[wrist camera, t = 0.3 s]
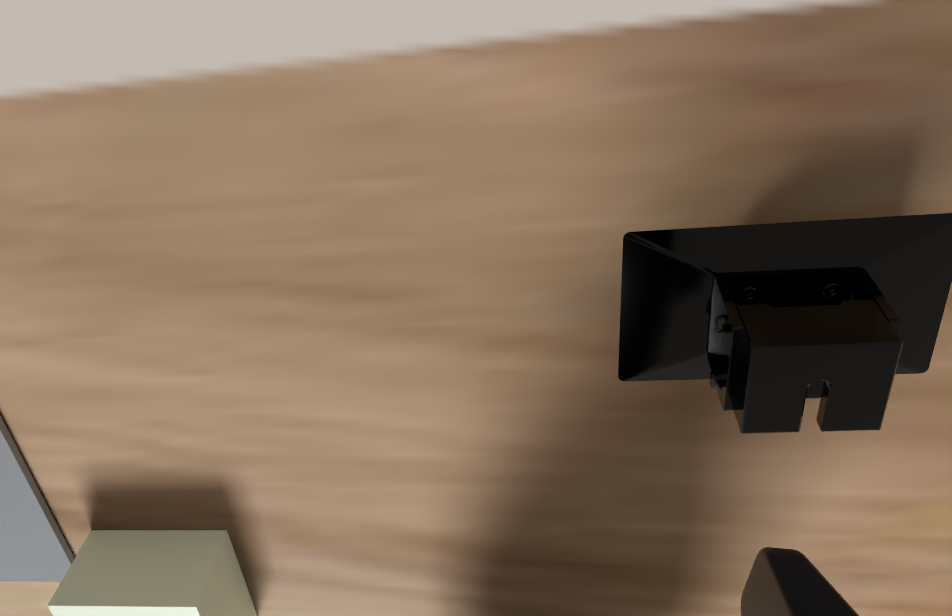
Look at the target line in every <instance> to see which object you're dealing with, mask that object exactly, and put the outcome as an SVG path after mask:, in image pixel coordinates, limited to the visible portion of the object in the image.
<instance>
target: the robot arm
mask: <svg viewBox="0 0 952 616" xmlns="http://www.w3.org/2000/svg"><path fill="white" fill-rule="evenodd" d="M741 616H859V615H858V614H857V613H856V612H855V611H854V610H853V608H852V607H851V606H850V605H849V604H848V603H847V602H846V601H845V600H844V598H843V597H842V596H841V595H840V594H839V593H838V592H837V591H836V590H835V589H834V587H833V586H832V585H831V584H830V583H829V582H828V581H827V580H826V579H825V577H824V576H823V575H822V574H821V573H820V572H819V571H818V570H817V569H816V567H815V566H814V565H813V564H812V563H811V562H810V561H809V560H808V559H807V558H806V557H805V556H804V555H803V554H802V553H800V552H799V551H797V550H793V549H782V548H770V547H766V548H763V549H761V550H760V551H759V553H758V554H757V556H756V559H755V562H754V564H753V567H752V569H751V572H750V574H749V577H748V580H747V582H746V585H745V587H744V590H743V593H742V598H741Z"/></svg>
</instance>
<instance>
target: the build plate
mask: <svg viewBox="0 0 952 616" xmlns="http://www.w3.org/2000/svg"><path fill="white" fill-rule="evenodd" d="M951 282H952V213H944V214H927V215H910V216H894V217H877V218H860V219H843V220H826V221H809V222H792V223H775V224H758V225H741V226H724V227H707V228H690V229H673V230H656V231H639V232H628V233H626V234H625V235H624V237H623V260H622V287H621V314H620V341H619V368H618V378H619V379H620V380H621V381H649V380H687V379H710V385H711V387H712V388H717V392H718V395H719V398H720V401H721V405H722V408H723V411H726V410H734V413H735V416H736V419H737V422H738V425H739V428H740V431H741V433H742V434H743V433H783V432H799V431H800V427H801V421H802V416H803V410H804V405H805V399H806V398H821V400H820V405H819V410H818V415H817V423H818V425H819V427H820V429H821V431H822V432H823V431H863V430H880V429H881V426H882V422H883V418H884V415H885V411H886V407H887V403H888V399H889V395H890V391H891V388H892V384H893V380H894V376H895V374H914V373H924V372H926V371H927V370H928V368H929V365H930V361H931V357H932V353H933V350H934V346H935V342H936V338H937V335H938V331H939V327H940V323H941V319H942V316H943V312H944V308H945V304H946V301H947V297H948V293H949V289H950V286H951Z"/></svg>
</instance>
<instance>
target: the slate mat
mask: <svg viewBox="0 0 952 616" xmlns="http://www.w3.org/2000/svg"><path fill="white" fill-rule="evenodd" d="M74 559H75V558H74V556H73V554H72V552H71V550H70V549H69V547H68V545H67V543H66V541H65V539H64V537H63V535H62V533H61V531H60V529H59V527H58V525H57V523H56V522H55V520H54V518H53V516H52V514H51V512H50V510H49V508H48V506H47V504H46V502H45V500H44V498H43V496H42V495H41V493H40V491H39V489H38V487H37V485H36V483H35V481H34V479H33V477H32V475H31V473H30V471H29V469H28V468H27V466H26V464H25V462H24V460H23V458H22V456H21V454H20V452H19V450H18V448H17V446H16V444H15V442H14V441H13V439H12V437H11V435H10V433H9V431H8V429H7V427H6V425H5V423H4V421H3V419H2V417H1V415H0V581H38V582H62V580H63V578H64V576H65V575H66V573H67V571H68V569H69V568H70V566H71V564H72V563H73V561H74Z"/></svg>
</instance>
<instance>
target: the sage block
mask: <svg viewBox="0 0 952 616" xmlns="http://www.w3.org/2000/svg"><path fill="white" fill-rule="evenodd" d="M48 608H49V609H50V611H51V613H52V614H53V616H257V613H256V611H255V608H254V605H253V602H252V599H251V597H250V594H249V591H248V588H247V585H246V582H245V580H244V577H243V574H242V571H241V568H240V566H239V563H238V560H237V557H236V554H235V551H234V549H233V546H232V543H231V540H230V537H229V535H228V532H227V530H91V532H90V533H89V535H88V537H87V538H86V540H85V542H84V544H83V545H82V547H81V549H80V551H79V552H78V554H77V556H76V557H75V559H74V561H73V563H72V564H71V566H70V568H69V569H68V571H67V573H66V575H65V576H64V578H63V580H62V582H61V583H60V585H59V587H58V588H57V590H56V592H55V594H54V595H53V597H52V599H51V601H50V602H49V604H48Z"/></svg>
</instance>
